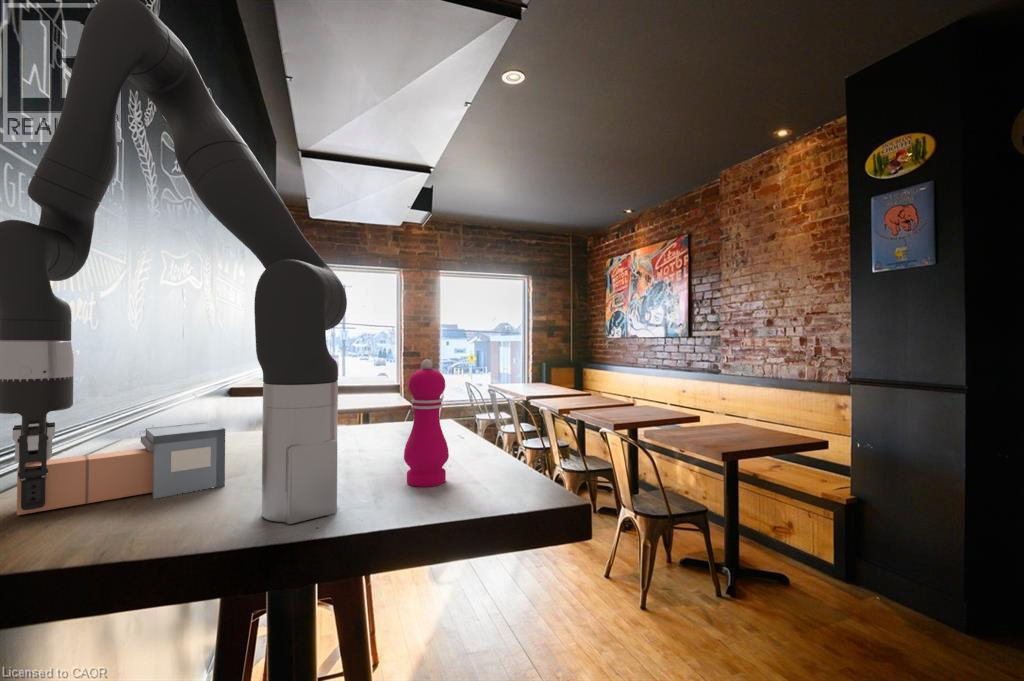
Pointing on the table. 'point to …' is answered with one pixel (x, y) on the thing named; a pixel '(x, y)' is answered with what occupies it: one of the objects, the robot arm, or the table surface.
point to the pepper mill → (426, 429)
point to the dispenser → (186, 457)
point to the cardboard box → (93, 478)
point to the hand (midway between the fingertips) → (33, 503)
